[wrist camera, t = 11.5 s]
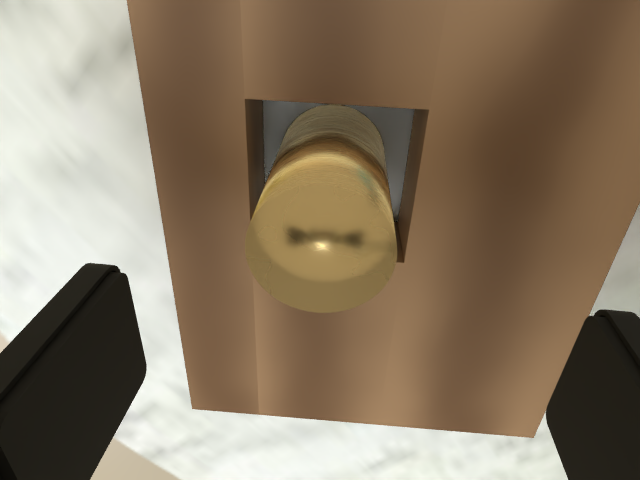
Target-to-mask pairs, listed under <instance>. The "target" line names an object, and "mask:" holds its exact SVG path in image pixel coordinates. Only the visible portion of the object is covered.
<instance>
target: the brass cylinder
mask: <svg viewBox="0 0 640 480" xmlns="http://www.w3.org/2000/svg"><path fill="white" fill-rule="evenodd" d="M245 254H246V259H247V263H248V266H249V268H250V270H251V272H252V274H253V276H254V277H255V279H256V280H257V282H258V283H259V284H260V285H261V287H262V288H263V289H264V290H266V291H267V292H268V293H269V294H270V295H271V296H273V297H274V298H276V299H277V300H279V301H281V302H282V303H284V304H287V305H289V306H291V307H294V308H297V309H300V310H304V311H308V312H316V313H331V312H339V311H345V310H348V309H352V308H355V307H357V306H359V305H362V304H363V303H365V302H367V301H369V300H370V299H372V298H373V297H374V296H376V295H377V294H378V293H379V292H380V291H381V290H382V289H383V288H384V286H385V285H386V284H387V283H388V281H389V279H390V278H391V276H392V274H393V271H394V269H395V265H396V261H397V242H396V235H395V227H394V220H393V213H392V205H391V198H390V191H389V183H388V176H387V169H386V161H385V154H384V147H383V142H382V139H381V136H380V133H379V132H378V130H377V128H376V127H375V125H374V124H373V123H372V122H371V121H370V120H369V119H368V118H367V117H366V116H365V115H364V114H362V113H361V112H359V111H357V110H355V109H353V108H350V107H347V106H343V105H337V104H327V105H321V106H317V107H314V108H312V109H309V110H307V111H306V112H304V113H302V114H301V115H300V116H298V117H297V118H296V119H295V120H294V121H293V122H292V124H291V125H290V126H289V128H288V130H287V132H286V134H285V136H284V139H283V141H282V144H281V146H280V149H279V151H278V154H277V156H276V159H275V161H274V164H273V166H272V169H271V171H270V174H269V176H268V179H267V181H266V184H265V186H264V189H263V191H262V194H261V196H260V199H259V201H258V204H257V206H256V209H255V211H254V214H253V216H252V219H251V221H250V224H249V227H248V230H247V233H246V238H245Z"/></svg>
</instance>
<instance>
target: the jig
mask: <svg viewBox="0 0 640 480" xmlns="http://www.w3.org/2000/svg"><path fill="white" fill-rule="evenodd" d="M127 5H128V11H129V17H130V23H131V30H132V36H133V42H134V48H135V55H136V61H137V67H138V73H139V80H140V86H141V92H142V98H143V104H144V111H145V117H146V123H147V129H148V136H149V142H150V148H151V154H152V161H153V167H154V173H155V179H156V186H157V192H158V198H159V204H160V211H161V217H162V223H163V229H164V235H165V242H166V248H167V254H168V260H169V267H170V273H171V279H172V285H173V292H174V298H175V304H176V310H177V317H178V323H179V329H180V335H181V342H182V348H183V354H184V360H185V366H186V373H187V379H188V385H189V391H190V398H191V404H192V409H199V410H211V411H222V412H234V413H246V414H258V415H270V416H281V417H293V418H305V419H317V420H329V421H341V422H352V423H364V424H376V425H388V426H400V427H411V428H423V429H435V430H447V431H459V432H471V433H482V434H494V435H506V436H518V437H530V438H534V436H535V433H536V431H537V429H538V427H539V425H540V422H541V420H542V418H543V416H544V413H545V411H546V409H547V405H548V403H549V400H550V398H551V396H552V394H553V391H554V389H555V387H556V385H557V382H558V380H559V378H560V375H561V373H562V371H563V369H564V366H565V364H566V362H567V360H568V357H569V355H570V353H571V350H572V348H573V346H574V344H575V341H576V339H577V337H578V335H579V332H580V330H581V328H582V325H583V323H584V321H585V319H586V318H587V317H588V316H589V314H590V311H591V309H592V307H593V305H594V303H595V300H596V298H597V296H598V294H599V291H600V289H601V287H602V285H603V283H604V280H605V278H606V276H607V274H608V272H609V269H610V267H611V265H612V263H613V260H614V258H615V256H616V254H617V252H618V249H619V247H620V245H621V243H622V240H623V238H624V236H625V234H626V232H627V229H628V227H629V225H630V223H631V221H632V218H633V216H634V214H635V212H636V209H637V207H638V205H639V203H640V0H127ZM262 100H273V101H290V102H307V103H324V104H341V105H358V106H375V107H392V108H409V109H415V111H414V117H413V124H412V131H411V138H410V145H409V151H408V158H407V165H406V172H405V179H404V185H403V192H402V199H401V206H400V212H399V219H398V222H394V227H395V235H396V242H397V261H396V265H395V269H394V271H393V274H392V276H391V278H390V279H389V281H388V283H387V284H386V285H385V286H384V288H383V289H382V290H381V291H380V292H379V293H378V294H377V295H376V296H374V297H373V298H372V299H370V300H369V301H367V302H365V303H363V304H362V305H359V306H357V307H355V308H352V309H348V310H345V311H339V312H331V313H316V312H308V311H304V310H300V309H297V308H294V307H291V306H289V305H287V304H284V303H282V302H281V301H279V300H277V299H276V298H274V297H273V296H271V295H270V294H269V293H268V292H267V291H266V290H264V289H263V288H262V287H261V285H260V284H259V283H258V282H257V280H256V279H255V277H254V276H253V274H252V272H251V270H250V268H249V266H248V263H247V259H246V254H245V238H246V233H247V230H248V227H249V224H250V221H251V219H252V216H253V214H254V211H255V209H256V206H257V204H258V201H259V199H260V196H261V194H262V191H263V189H264V186H265V180H264V140H263V101H262Z"/></svg>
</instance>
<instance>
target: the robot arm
mask: <svg viewBox="0 0 640 480" xmlns="http://www.w3.org/2000/svg"><path fill="white" fill-rule="evenodd" d="M145 375H146V360H145V356H144V351H143V346H142V342H141V337H140V332H139V328H138V323H137V318H136V314H135V309H134V304H133V300H132V295H131V290H130V286H129V281H128V278H127V275H126V274H124V273H121V272H120V269H119V268H118V267H117V266H115V265H106V264H95V263H88V264H85V265H84V266H83V267H82V268H81V269H80V270H79V271H78V272H77V273H76V274H75V275H74V276H73V277H72V278H71V279H70V280H69V281H68V282H67V283H66V284H65V286H64V287H63V288H62V289H61V290H60V291H59V292H58V293H57V294H56V295H55V296H54V297H53V298H52V299H51V300H50V301H49V302H48V304H47V305H46V306H45V307H44V308H43V309H42V310H41V311H40V312H39V313H38V314H37V315H36V316H35V317H34V318H33V319H32V320H31V321H30V323H29V324H28V325H27V326H26V327H25V328H24V329H23V330H22V331H21V332H20V333H19V334H18V335H17V336H16V337H15V338H14V339H13V340H12V342H11V343H10V344H9V345H8V346H7V347H6V348H5V349H4V350H3V351H2V352H1V353H0V480H90V479H91V477H92V475H93V473H94V471H95V469H96V468H97V466H98V464H99V462H100V460H101V458H102V456H103V455H104V453H105V451H106V449H107V447H108V445H109V444H110V442H111V440H112V438H113V436H114V434H115V433H116V431H117V429H118V427H119V425H120V423H121V422H122V420H123V418H124V416H125V414H126V412H127V411H128V409H129V407H130V405H131V403H132V401H133V400H134V398H135V396H136V394H137V392H138V390H139V388H140V387H141V385H142V383H143V381H144V378H145ZM546 420H547V424H548V427H549V430H550V432H551V435H552V438H553V440H554V443H555V446H556V448H557V451H558V454H559V456H560V459H561V462H562V464H563V467H564V469H565V472H566V475H567V477H568V480H640V318H639V317H638V316H637V315H636V314H635V313H632V312H625V311H614V310H598V311H597V312H596V313H595V315H594V316H588V317H587V318H586V319H585V321H584V323H583V325H582V328H581V330H580V332H579V335H578V337H577V339H576V341H575V344H574V346H573V348H572V350H571V353H570V355H569V357H568V360H567V362H566V364H565V366H564V369H563V371H562V373H561V375H560V378H559V380H558V382H557V385H556V387H555V389H554V391H553V394H552V396H551V398H550V400H549V403H548V405H547V409H546Z"/></svg>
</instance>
